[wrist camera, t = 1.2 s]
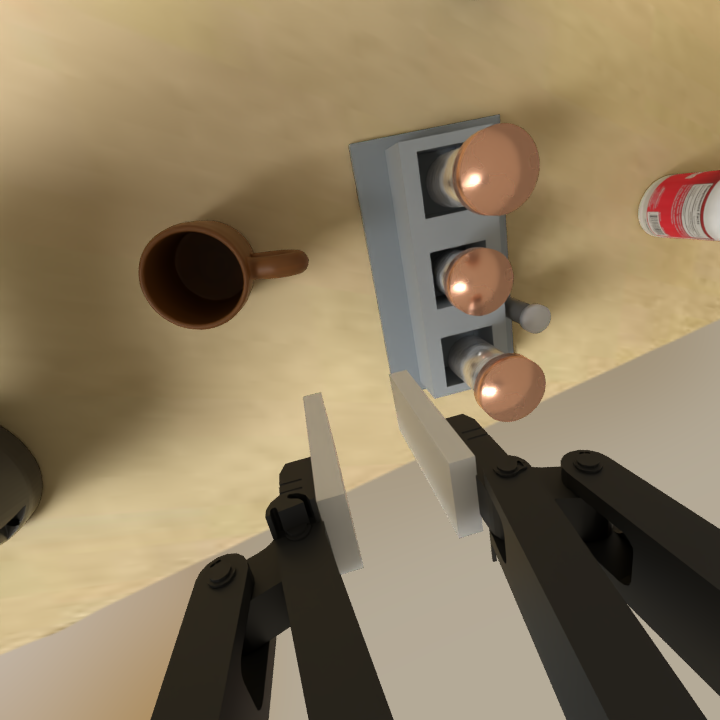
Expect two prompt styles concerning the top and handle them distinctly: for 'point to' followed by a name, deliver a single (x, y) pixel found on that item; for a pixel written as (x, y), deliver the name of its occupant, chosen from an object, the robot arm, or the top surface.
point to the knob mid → (472, 278)
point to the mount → (422, 252)
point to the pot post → (528, 315)
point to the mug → (207, 272)
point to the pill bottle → (683, 206)
